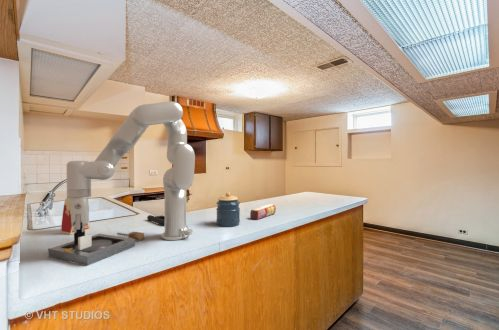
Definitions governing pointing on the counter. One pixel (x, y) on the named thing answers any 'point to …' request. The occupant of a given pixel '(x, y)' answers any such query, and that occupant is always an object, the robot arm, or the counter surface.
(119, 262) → the counter surface
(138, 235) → the screwdriver
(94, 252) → the tray
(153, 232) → the counter surface
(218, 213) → the canister
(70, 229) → the milk carton
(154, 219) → the door handle
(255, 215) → the snack package
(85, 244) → the dial
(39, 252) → the counter surface
